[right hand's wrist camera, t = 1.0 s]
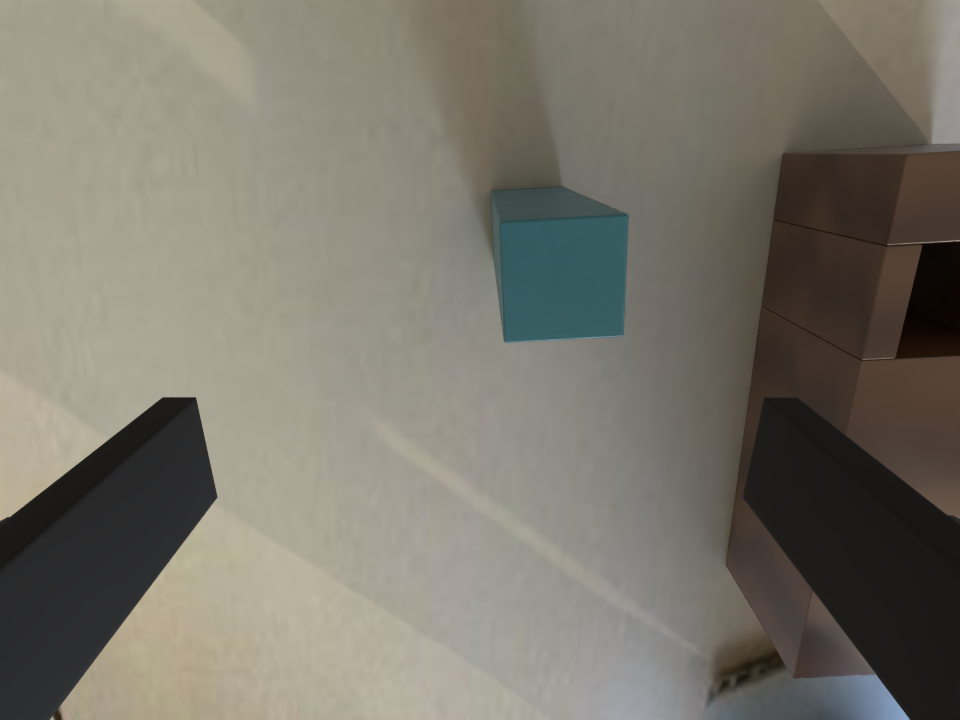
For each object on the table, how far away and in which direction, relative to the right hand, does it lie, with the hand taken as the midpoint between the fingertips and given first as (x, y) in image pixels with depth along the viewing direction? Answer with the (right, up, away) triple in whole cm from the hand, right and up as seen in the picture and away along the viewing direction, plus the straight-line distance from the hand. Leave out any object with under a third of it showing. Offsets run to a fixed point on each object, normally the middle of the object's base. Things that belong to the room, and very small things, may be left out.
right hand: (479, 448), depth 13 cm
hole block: (+21, 0, +21) cm, 30 cm away
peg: (+3, +10, +18) cm, 20 cm away
